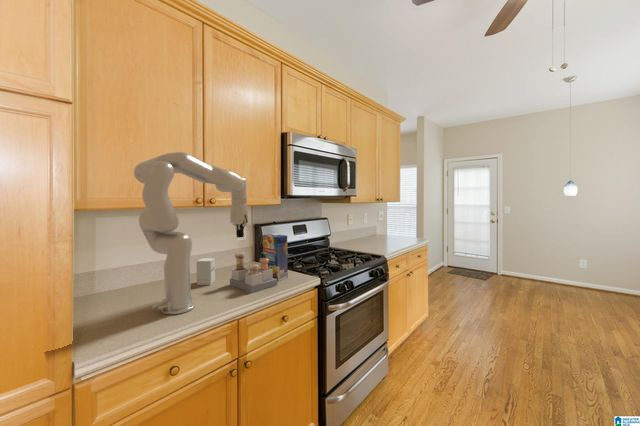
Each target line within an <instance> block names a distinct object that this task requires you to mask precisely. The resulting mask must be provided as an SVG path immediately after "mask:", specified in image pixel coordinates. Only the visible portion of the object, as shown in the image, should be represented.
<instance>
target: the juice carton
mask: <svg viewBox="0 0 640 426" xmlns="http://www.w3.org/2000/svg"><path fill="white" fill-rule="evenodd" d="M262 249H263V250H262V253H263V255H262V256H263V257H262V258H269V262H268V268H269V269H273V278H274V279H277V282H279V281H282V280H283V281H284V280H286V279H288V268H289V267H288V266H289V265H288V235H285V234H277V233H268V234H263V235H262Z"/></svg>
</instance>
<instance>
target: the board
mask: <svg viewBox="0 0 640 426" xmlns="http://www.w3.org/2000/svg"><path fill="white" fill-rule="evenodd" d="M257 272H258V274H256V275H250V271H249V268H247V267H244V270H240V271H238V270H237V269H236V268H232V269H231V278H229V286H233V287H235V288H237V289H240V290H243V291H244V292H248V293H250V294H252V293H256V292H259V291H263V290H265V289H269V288H272V287H276V286H278V281H277V279H274V278H273V269H269V268H268V270H266V271H261V268H259V269H257Z"/></svg>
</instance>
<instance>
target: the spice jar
mask: <svg viewBox="0 0 640 426" xmlns="http://www.w3.org/2000/svg"><path fill="white" fill-rule="evenodd" d="M259 267H260V266H259V264H253V263H252V264H249V265H248V271H249V272H250V275H256V274H258V272H257V269H260V268H259Z"/></svg>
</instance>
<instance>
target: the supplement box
mask: <svg viewBox="0 0 640 426" xmlns="http://www.w3.org/2000/svg"><path fill="white" fill-rule="evenodd" d="M215 260H216V258H213V257H207V258H205V257H203V258H200V259H198V260H197V261H196V286H212V285H213V283H214V282H215V281H216V262H215Z"/></svg>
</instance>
